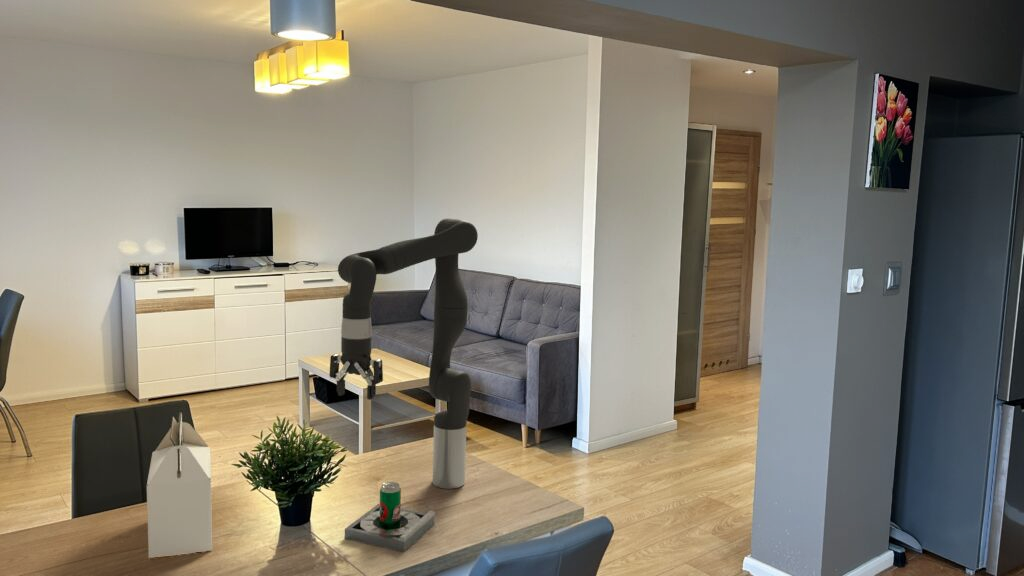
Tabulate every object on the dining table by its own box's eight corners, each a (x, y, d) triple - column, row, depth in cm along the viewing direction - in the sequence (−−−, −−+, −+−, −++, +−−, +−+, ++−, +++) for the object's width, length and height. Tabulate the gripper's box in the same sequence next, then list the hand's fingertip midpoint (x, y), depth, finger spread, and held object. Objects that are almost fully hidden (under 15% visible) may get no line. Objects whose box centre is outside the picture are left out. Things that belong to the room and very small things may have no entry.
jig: (378, 513, 203) (378, 500, 203) (434, 524, 198) (434, 511, 197) (344, 538, 188) (344, 525, 188) (404, 552, 183) (404, 537, 182)
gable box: (154, 518, 195) (151, 409, 191) (211, 512, 200) (209, 406, 196) (148, 560, 175) (145, 439, 171) (212, 552, 179) (210, 434, 175)
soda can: (396, 537, 190) (396, 490, 188) (376, 534, 191) (376, 487, 189) (403, 528, 195) (403, 482, 193) (383, 526, 196) (384, 480, 194)
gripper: (388, 335, 200) (387, 396, 202) (340, 329, 205) (339, 389, 207) (373, 340, 193) (372, 404, 195) (324, 334, 198) (323, 396, 200)
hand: (355, 396), depth 201 cm, fingers open, 8 cm apart
